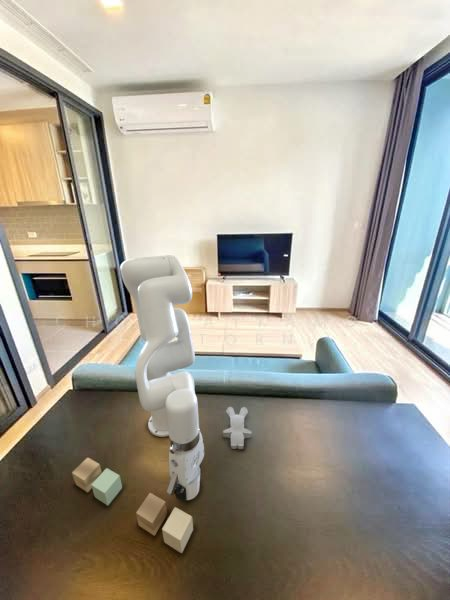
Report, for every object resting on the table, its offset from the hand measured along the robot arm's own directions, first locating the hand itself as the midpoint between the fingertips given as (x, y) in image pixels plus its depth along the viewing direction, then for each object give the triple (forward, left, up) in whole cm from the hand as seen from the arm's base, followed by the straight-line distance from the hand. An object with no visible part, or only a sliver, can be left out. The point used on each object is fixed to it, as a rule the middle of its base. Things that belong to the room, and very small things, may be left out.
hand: (188, 483), depth 69 cm
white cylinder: (0, 0, -2) cm, 2 cm away
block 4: (+10, +3, -2) cm, 11 cm away
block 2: (+10, -20, -2) cm, 22 cm away
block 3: (+10, -4, -2) cm, 11 cm away
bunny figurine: (-23, +5, -2) cm, 24 cm away
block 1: (+10, -28, -2) cm, 29 cm away
